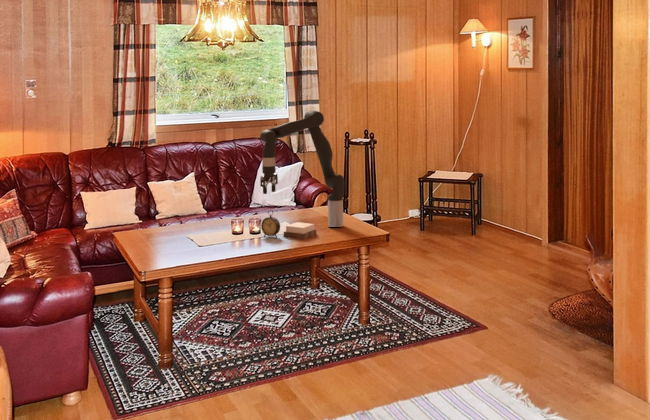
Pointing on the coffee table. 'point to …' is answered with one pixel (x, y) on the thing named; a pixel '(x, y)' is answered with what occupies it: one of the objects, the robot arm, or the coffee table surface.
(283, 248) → the coffee table surface
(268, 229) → the alarm clock
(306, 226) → the cream slab
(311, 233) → the walnut slab
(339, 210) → the robot arm
